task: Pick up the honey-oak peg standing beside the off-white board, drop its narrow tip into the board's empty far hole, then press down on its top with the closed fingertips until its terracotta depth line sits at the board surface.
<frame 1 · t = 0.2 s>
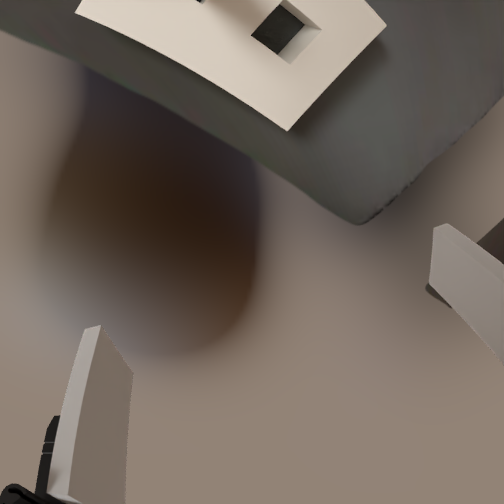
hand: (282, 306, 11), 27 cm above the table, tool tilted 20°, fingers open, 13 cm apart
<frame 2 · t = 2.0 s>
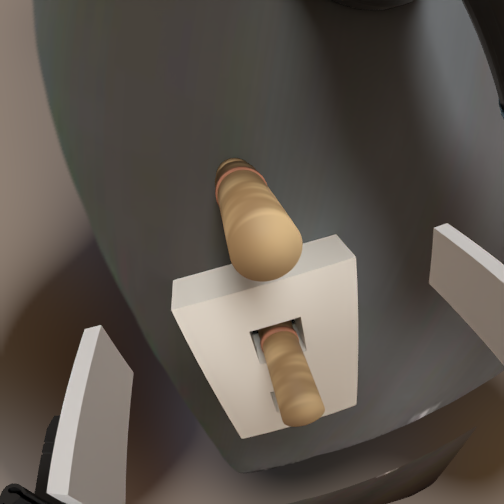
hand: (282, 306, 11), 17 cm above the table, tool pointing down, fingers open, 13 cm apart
off-white board: (277, 344, 36), on the table
seated peg: (269, 312, 34), resting in off-white board
honey-oak peg: (234, 175, 26), on the table
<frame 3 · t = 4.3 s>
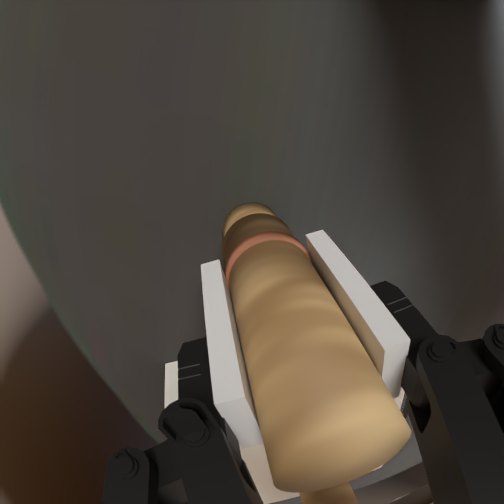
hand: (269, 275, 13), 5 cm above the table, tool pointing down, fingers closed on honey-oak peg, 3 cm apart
off-white board: (298, 418, 27), on the table
seated peg: (291, 390, 25), resting in off-white board
honey-oak peg: (250, 229, 17), on the table, touching gripper
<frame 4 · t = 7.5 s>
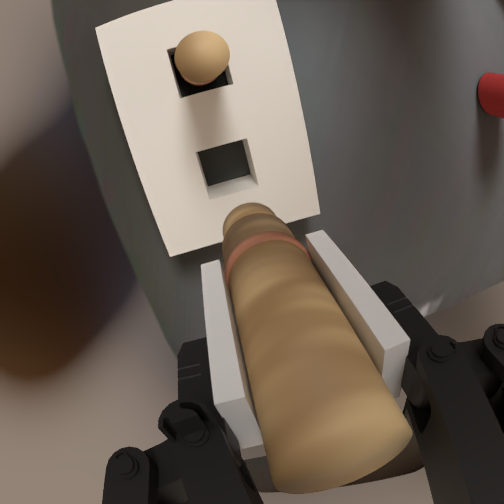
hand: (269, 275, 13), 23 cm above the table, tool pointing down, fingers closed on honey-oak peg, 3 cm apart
beer can: (487, 92, 33), on the table
off-white board: (211, 114, 31), on the table
seated peg: (199, 69, 28), resting in off-white board
honey-oak peg: (250, 229, 17), point 18 cm above the table, touching gripper
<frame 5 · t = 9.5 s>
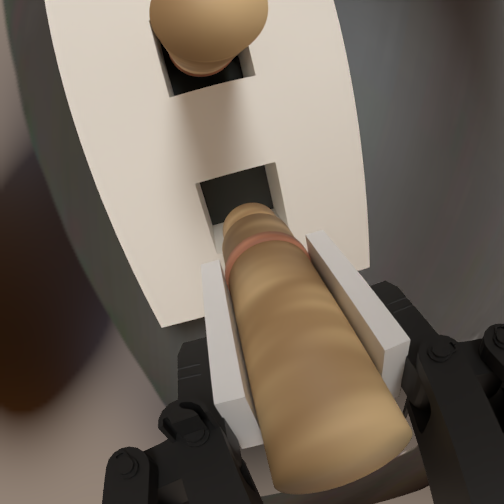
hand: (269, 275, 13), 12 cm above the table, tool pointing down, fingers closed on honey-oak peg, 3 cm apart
off-white board: (218, 121, 21), on the table
seated peg: (200, 54, 18), resting in off-white board
honey-oak peg: (250, 229, 17), point 7 cm above the table, touching gripper
when the fingers open (8 cm above the table, at t = 11.0 s): honey-oak peg drops 3 cm, resting in off-white board.
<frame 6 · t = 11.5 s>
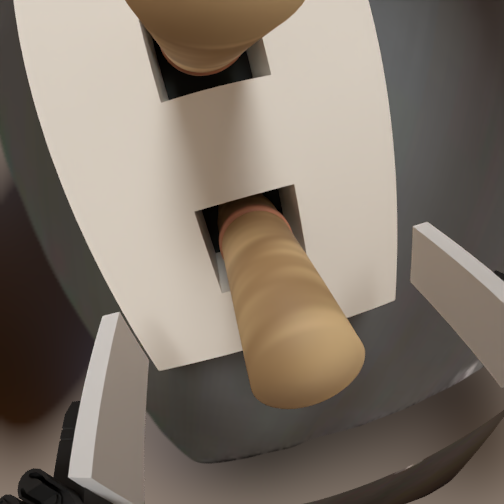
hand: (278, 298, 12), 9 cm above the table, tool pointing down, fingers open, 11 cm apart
off-white board: (222, 131, 17), on the table
seated peg: (200, 49, 15), resting in off-white board
honey-oak peg: (242, 208, 20), resting in off-white board
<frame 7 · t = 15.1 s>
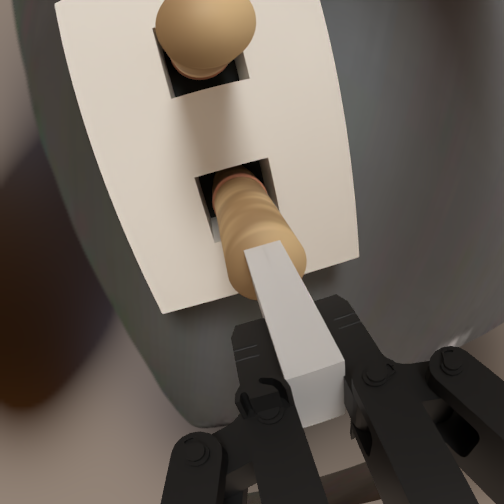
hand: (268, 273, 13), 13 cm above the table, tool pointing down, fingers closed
off-white board: (216, 121, 22), on the table
seated peg: (199, 58, 20), resting in off-white board
honey-oak peg: (232, 181, 25), resting in off-white board, touching gripper
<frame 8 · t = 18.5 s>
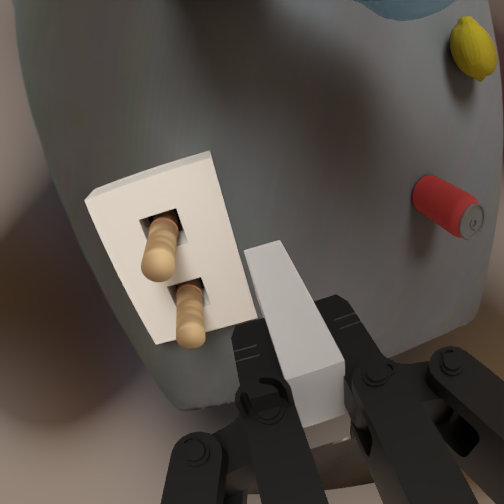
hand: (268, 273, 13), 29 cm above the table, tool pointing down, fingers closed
beer can: (424, 192, 47), on the table
off-white board: (178, 249, 45), on the table
seated peg: (166, 217, 42), resting in off-white board
honey-oak peg: (189, 277, 47), resting in off-white board
lemon: (455, 48, 36), on the table
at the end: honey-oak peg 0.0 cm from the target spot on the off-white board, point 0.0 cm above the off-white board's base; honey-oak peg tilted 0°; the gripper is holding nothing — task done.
